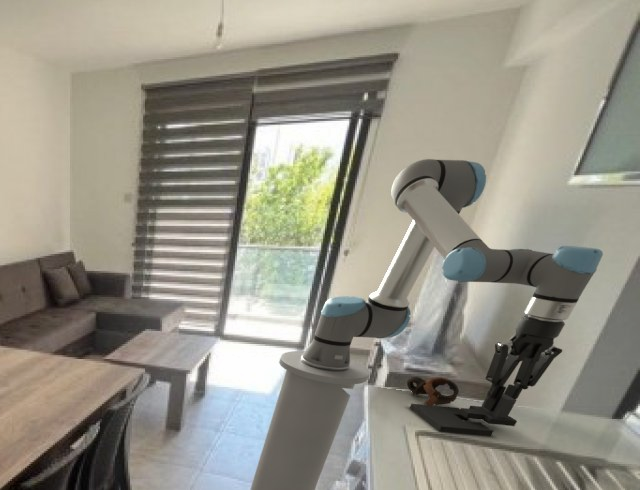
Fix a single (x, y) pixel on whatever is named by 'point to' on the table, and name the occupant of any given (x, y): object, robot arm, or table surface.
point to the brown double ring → (433, 389)
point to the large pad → (449, 420)
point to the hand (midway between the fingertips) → (494, 409)
